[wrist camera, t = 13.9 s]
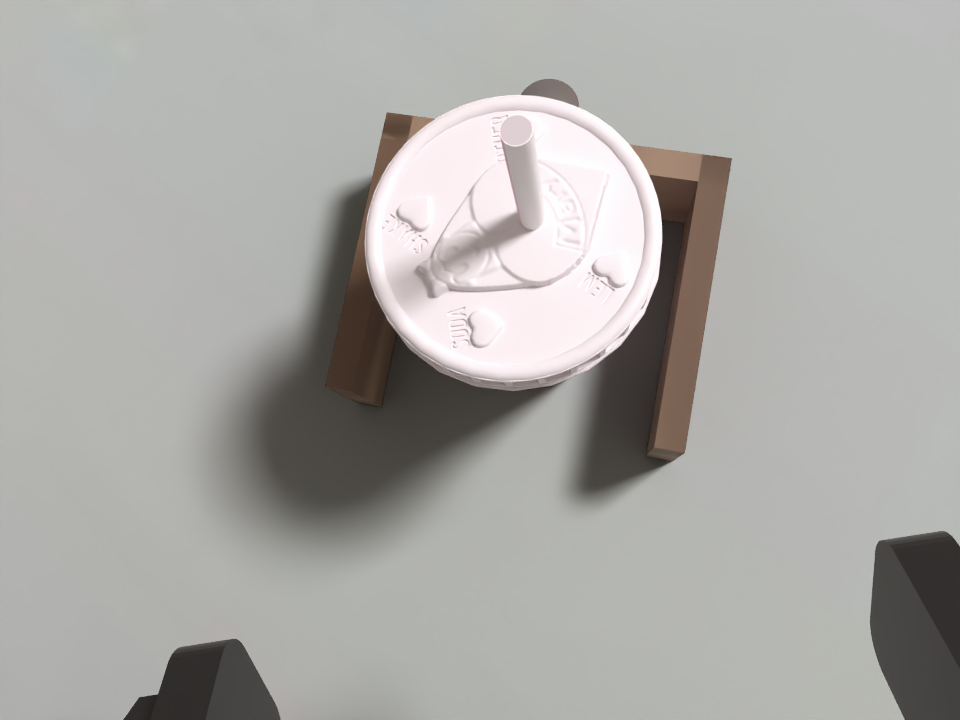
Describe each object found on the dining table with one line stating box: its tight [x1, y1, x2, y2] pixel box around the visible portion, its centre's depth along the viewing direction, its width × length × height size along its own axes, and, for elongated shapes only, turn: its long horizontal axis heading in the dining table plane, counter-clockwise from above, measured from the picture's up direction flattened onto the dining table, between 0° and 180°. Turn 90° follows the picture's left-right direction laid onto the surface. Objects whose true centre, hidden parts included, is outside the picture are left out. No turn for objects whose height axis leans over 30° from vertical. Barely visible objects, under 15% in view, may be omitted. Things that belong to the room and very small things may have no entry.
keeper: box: [325, 79, 732, 461], centre depth 25 cm, size 10×9×6 cm
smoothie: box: [365, 95, 662, 391], centre depth 21 cm, size 6×6×14 cm
